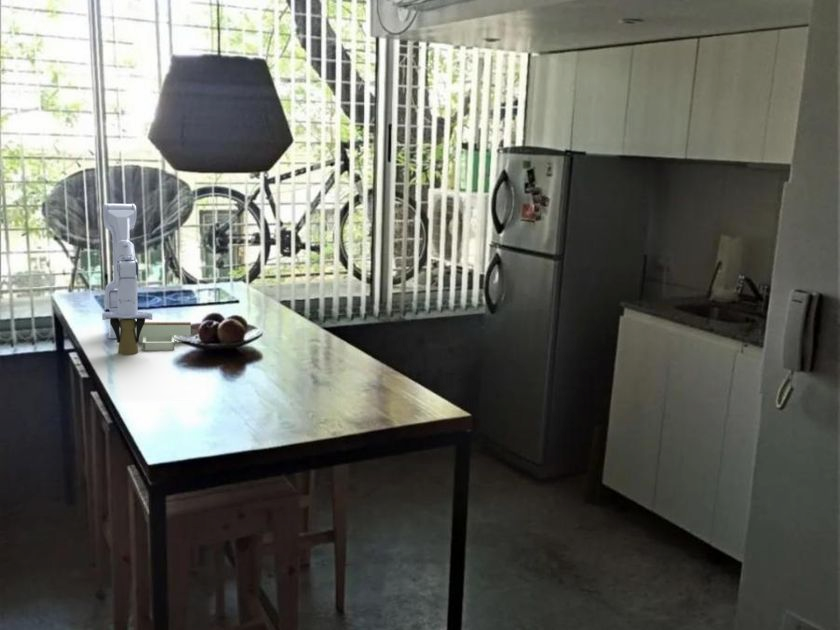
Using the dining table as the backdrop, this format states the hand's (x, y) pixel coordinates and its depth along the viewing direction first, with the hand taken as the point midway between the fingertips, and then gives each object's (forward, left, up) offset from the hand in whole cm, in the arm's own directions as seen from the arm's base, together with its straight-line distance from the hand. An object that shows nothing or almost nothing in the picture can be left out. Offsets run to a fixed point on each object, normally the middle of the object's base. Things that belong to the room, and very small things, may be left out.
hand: (128, 341), depth 256 cm
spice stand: (-7, +9, -3) cm, 12 cm away
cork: (0, 0, -4) cm, 4 cm away
